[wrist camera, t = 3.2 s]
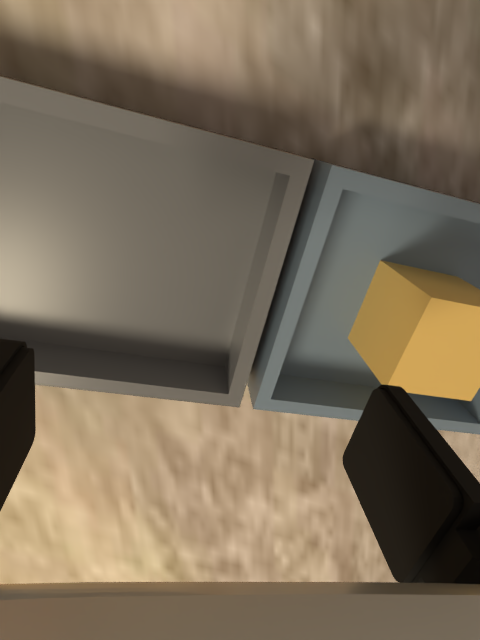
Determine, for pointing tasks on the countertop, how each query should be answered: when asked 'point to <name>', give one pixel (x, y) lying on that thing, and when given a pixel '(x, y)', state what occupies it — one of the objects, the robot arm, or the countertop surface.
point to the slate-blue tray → (355, 290)
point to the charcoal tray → (138, 246)
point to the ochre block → (420, 331)
